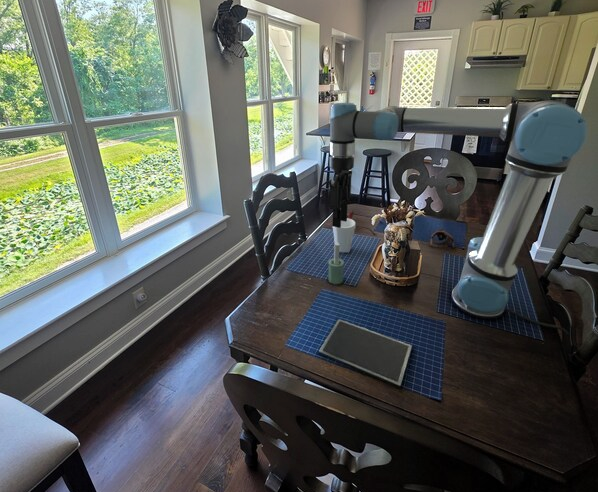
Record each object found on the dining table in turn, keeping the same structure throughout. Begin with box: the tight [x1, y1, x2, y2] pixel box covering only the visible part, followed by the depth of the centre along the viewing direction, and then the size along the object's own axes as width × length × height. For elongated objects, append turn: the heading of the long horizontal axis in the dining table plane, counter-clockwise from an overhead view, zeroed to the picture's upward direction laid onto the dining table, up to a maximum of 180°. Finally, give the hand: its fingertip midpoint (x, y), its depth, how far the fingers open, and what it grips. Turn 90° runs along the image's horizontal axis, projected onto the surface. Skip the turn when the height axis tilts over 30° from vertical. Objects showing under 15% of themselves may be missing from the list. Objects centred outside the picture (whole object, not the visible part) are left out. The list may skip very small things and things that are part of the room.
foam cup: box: [331, 217, 356, 254], centre depth 136 cm, size 10×9×13 cm
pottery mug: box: [429, 228, 455, 249], centre depth 140 cm, size 12×10×8 cm
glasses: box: [347, 211, 383, 236], centre depth 159 cm, size 14×16×5 cm
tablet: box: [318, 318, 413, 389], centre depth 88 cm, size 22×14×1 cm, turn 61°
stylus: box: [333, 242, 340, 265], centre depth 115 cm, size 2×2×15 cm
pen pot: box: [327, 257, 345, 285], centre depth 117 cm, size 5×5×8 cm
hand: (339, 223), depth 108 cm, fingers open, 5 cm apart
